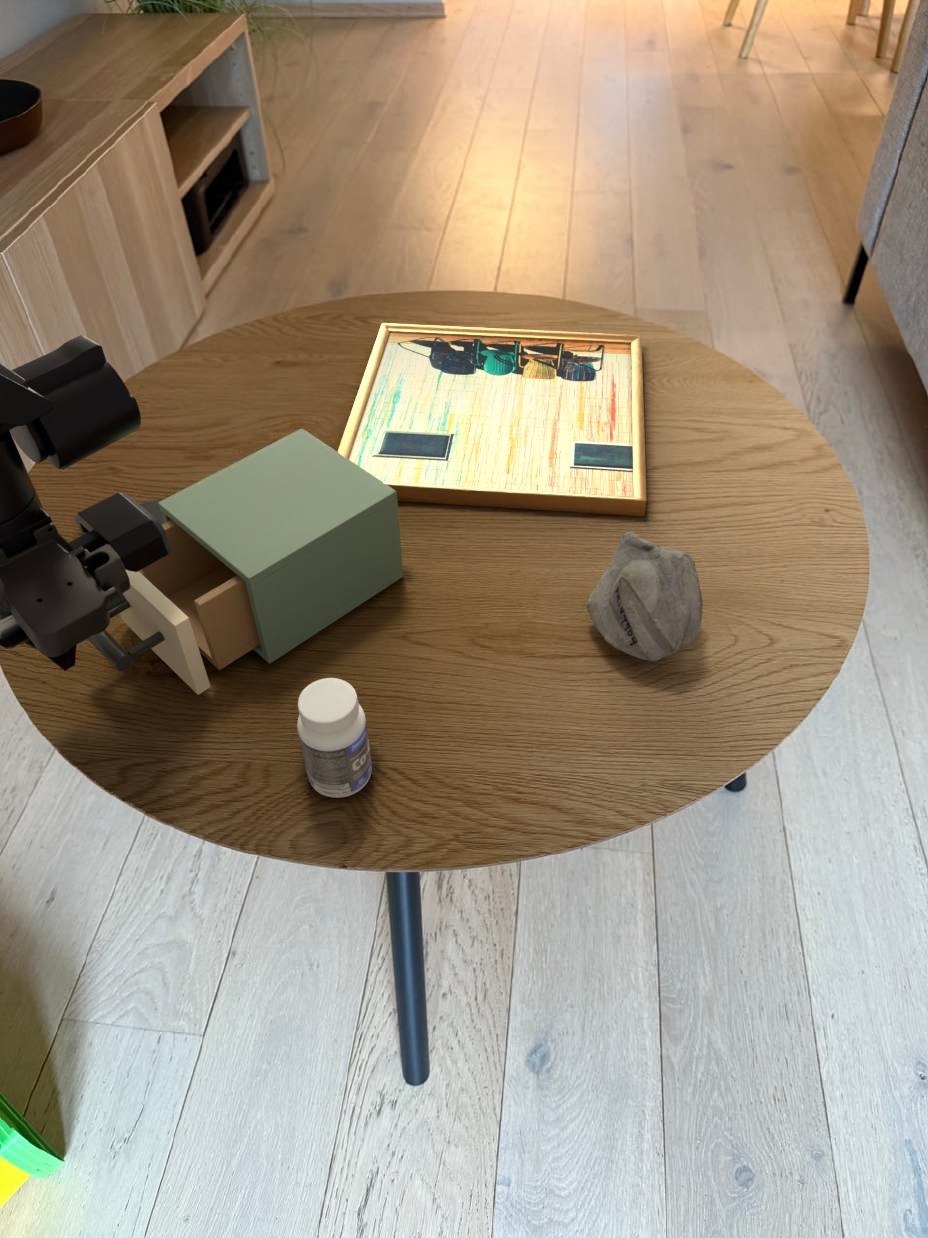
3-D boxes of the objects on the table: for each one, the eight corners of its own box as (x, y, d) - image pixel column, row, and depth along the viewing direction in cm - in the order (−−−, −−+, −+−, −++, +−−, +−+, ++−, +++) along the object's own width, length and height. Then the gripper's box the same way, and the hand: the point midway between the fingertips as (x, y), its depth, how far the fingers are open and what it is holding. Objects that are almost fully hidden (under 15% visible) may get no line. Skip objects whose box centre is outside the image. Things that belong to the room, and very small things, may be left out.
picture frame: (641, 334, 108) (646, 500, 88) (639, 349, 110) (644, 516, 89) (381, 322, 111) (327, 481, 90) (383, 337, 112) (329, 496, 92)
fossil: (561, 602, 81) (568, 531, 75) (650, 570, 84) (662, 499, 78) (632, 692, 74) (645, 621, 68) (726, 654, 77) (747, 583, 71)
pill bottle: (369, 800, 67) (358, 728, 61) (304, 799, 68) (286, 727, 62) (375, 746, 71) (365, 672, 65) (312, 745, 71) (297, 672, 65)
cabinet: (269, 664, 77) (248, 578, 70) (184, 588, 83) (157, 502, 76) (403, 576, 84) (396, 490, 77) (315, 512, 90) (301, 427, 83)
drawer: (150, 725, 71) (122, 657, 66) (76, 646, 77) (44, 577, 71) (333, 607, 80) (322, 537, 74) (254, 544, 85) (238, 475, 80)
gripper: (-114, 648, 50) (-4, 808, 61) (186, 490, 59) (234, 656, 70) (-188, 549, 56) (-75, 712, 67) (97, 418, 65) (154, 582, 76)
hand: (67, 665), depth 70 cm, fingers closed
